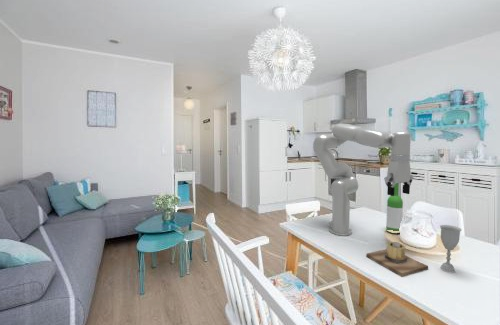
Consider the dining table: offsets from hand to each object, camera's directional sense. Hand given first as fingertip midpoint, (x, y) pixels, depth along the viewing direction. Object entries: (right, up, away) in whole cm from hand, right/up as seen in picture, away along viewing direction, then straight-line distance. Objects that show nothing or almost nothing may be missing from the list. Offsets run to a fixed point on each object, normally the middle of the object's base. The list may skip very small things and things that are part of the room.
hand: (398, 194), depth 116 cm
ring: (-6, -26, -8) cm, 28 cm away
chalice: (+12, -30, -14) cm, 35 cm away
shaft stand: (-6, -29, -8) cm, 31 cm away
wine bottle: (+13, -26, +26) cm, 39 cm away
